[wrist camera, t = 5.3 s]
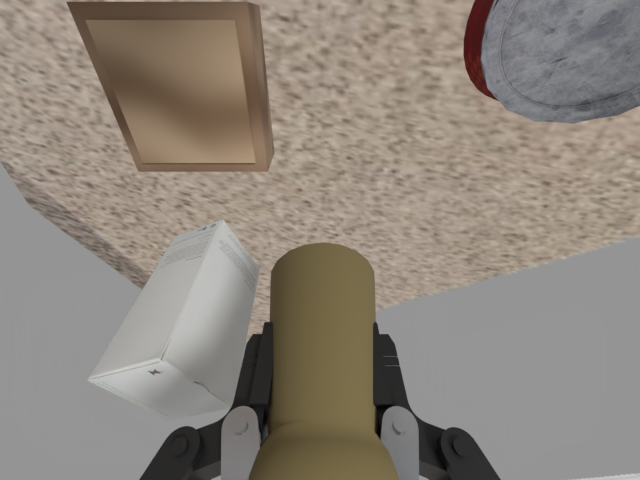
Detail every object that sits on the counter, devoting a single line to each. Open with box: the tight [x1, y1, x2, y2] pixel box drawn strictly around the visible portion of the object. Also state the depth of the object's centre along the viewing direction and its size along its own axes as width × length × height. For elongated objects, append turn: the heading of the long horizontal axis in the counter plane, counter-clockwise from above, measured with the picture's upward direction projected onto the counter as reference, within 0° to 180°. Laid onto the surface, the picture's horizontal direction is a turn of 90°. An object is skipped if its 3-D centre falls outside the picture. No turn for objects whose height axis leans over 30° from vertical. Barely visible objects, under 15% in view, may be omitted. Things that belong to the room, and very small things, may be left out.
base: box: [66, 2, 274, 172], centre depth 20 cm, size 10×10×4 cm
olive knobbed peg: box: [249, 242, 399, 480], centre depth 12 cm, size 6×6×11 cm
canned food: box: [463, 0, 640, 124], centre depth 17 cm, size 11×10×10 cm
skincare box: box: [87, 220, 260, 421], centre depth 26 cm, size 8×7×16 cm
